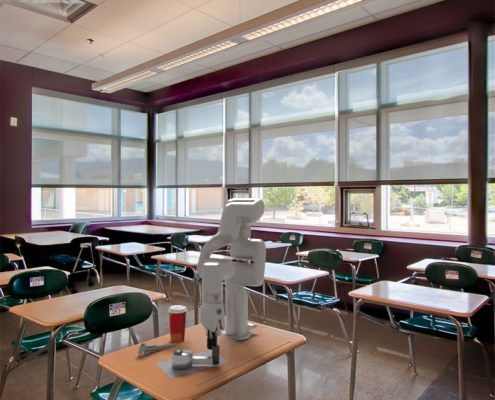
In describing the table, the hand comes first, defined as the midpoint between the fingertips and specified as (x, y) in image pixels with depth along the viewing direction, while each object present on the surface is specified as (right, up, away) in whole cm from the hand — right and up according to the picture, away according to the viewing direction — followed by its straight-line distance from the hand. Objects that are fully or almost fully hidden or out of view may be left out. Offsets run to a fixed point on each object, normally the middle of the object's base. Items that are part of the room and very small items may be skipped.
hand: (212, 348), depth 134 cm
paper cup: (-17, -6, +22) cm, 28 cm away
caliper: (-20, -6, +11) cm, 24 cm away
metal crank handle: (-5, -4, -4) cm, 8 cm away
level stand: (-7, -6, -2) cm, 9 cm away
